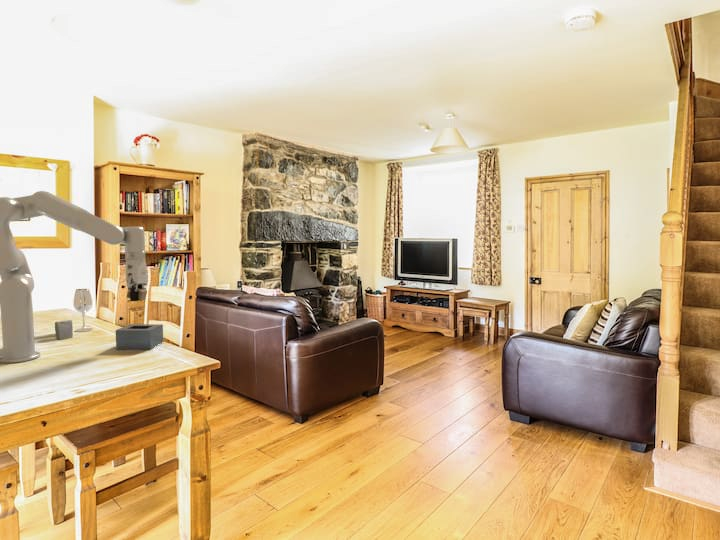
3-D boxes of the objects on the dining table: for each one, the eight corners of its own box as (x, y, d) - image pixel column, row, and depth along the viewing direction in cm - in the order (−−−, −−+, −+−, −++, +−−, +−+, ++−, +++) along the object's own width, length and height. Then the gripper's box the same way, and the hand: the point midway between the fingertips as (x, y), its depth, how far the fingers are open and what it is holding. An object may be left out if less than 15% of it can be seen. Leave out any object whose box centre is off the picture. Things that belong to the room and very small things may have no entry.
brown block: (126, 297, 187) (128, 288, 186) (131, 296, 190) (133, 286, 190) (140, 301, 187) (142, 291, 186) (145, 299, 191) (147, 290, 190)
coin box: (116, 349, 184) (115, 330, 183) (130, 342, 196) (130, 324, 195) (150, 349, 184) (150, 330, 183) (163, 342, 196) (162, 324, 195)
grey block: (79, 334, 208) (75, 318, 205) (62, 342, 200) (58, 326, 197) (66, 332, 209) (62, 316, 207) (49, 340, 201) (45, 324, 199)
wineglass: (78, 332, 214) (76, 290, 213) (71, 330, 219) (70, 289, 217) (96, 329, 220) (94, 289, 219) (89, 327, 225) (87, 288, 223)
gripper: (134, 257, 179) (136, 303, 180) (153, 255, 196) (154, 297, 197) (115, 257, 179) (117, 303, 180) (135, 255, 195) (137, 297, 197)
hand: (137, 299), depth 189 cm, fingers closed on brown block, 4 cm apart
